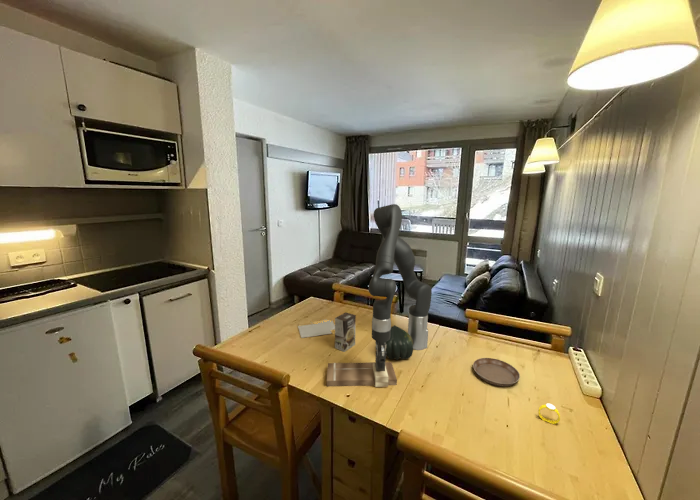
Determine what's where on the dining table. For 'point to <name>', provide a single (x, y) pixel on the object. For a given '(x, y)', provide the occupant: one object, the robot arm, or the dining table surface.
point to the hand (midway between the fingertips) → (380, 365)
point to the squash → (399, 344)
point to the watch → (552, 408)
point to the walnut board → (356, 374)
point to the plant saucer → (496, 371)
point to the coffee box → (345, 331)
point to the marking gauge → (380, 374)
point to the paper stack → (316, 329)
